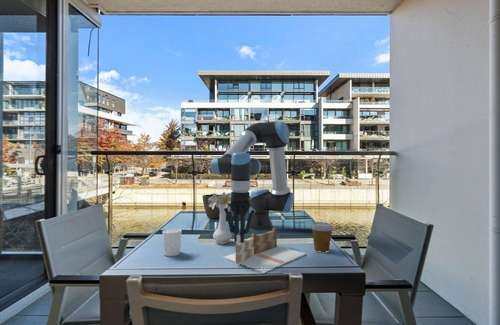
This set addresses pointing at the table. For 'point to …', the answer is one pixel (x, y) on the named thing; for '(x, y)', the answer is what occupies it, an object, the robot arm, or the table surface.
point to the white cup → (171, 241)
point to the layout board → (269, 257)
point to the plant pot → (208, 210)
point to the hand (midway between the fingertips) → (239, 250)
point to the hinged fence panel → (244, 250)
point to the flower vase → (221, 217)
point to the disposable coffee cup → (322, 236)
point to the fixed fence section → (265, 240)
